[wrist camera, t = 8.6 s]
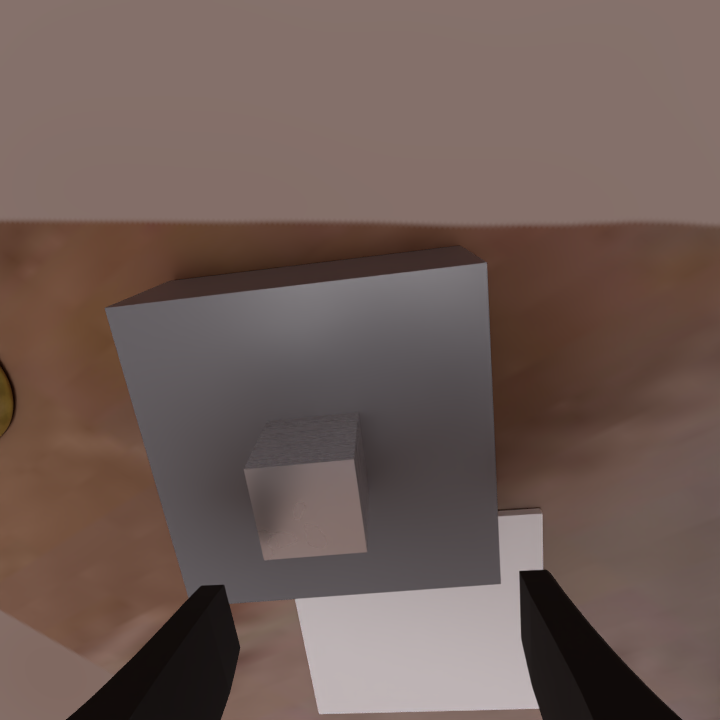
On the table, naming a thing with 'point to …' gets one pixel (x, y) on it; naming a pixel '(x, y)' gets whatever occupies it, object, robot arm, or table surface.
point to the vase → (5, 402)
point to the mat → (427, 640)
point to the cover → (321, 424)
